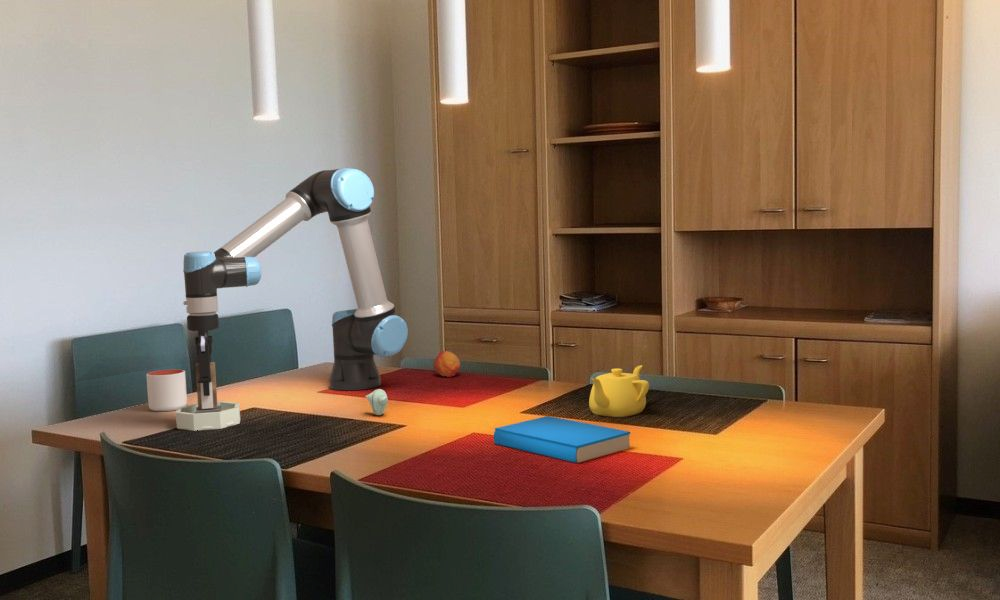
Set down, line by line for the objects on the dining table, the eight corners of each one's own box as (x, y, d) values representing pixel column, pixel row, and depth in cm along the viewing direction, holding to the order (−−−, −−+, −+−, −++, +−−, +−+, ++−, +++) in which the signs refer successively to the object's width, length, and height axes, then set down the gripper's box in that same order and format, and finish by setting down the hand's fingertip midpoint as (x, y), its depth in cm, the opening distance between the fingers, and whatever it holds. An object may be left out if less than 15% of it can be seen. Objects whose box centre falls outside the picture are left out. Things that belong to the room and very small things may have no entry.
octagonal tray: (241, 415, 257) (240, 399, 257) (239, 427, 242) (238, 411, 242) (179, 419, 254) (178, 404, 253) (174, 432, 239) (173, 416, 238)
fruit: (450, 373, 311) (449, 348, 310) (466, 376, 305) (465, 350, 304) (430, 376, 306) (429, 351, 305) (445, 379, 300) (444, 353, 299)
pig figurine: (363, 414, 252) (362, 388, 252) (376, 412, 255) (375, 386, 254) (382, 418, 247) (381, 392, 246) (395, 416, 249) (394, 389, 249)
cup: (193, 404, 274) (190, 369, 273) (178, 412, 264) (175, 375, 263) (158, 405, 275) (156, 369, 274) (142, 412, 265) (139, 375, 264)
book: (547, 415, 227) (631, 429, 209) (547, 434, 228) (631, 449, 209) (492, 428, 216) (575, 444, 197) (492, 448, 216) (576, 465, 198)
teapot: (624, 424, 231) (623, 379, 230) (570, 417, 242) (569, 373, 241) (673, 408, 248) (672, 365, 247) (621, 401, 258) (620, 360, 257)
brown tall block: (217, 413, 249) (214, 362, 248) (217, 414, 247) (214, 363, 246) (199, 414, 248) (196, 363, 247) (198, 416, 246) (195, 364, 245)
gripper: (188, 311, 252) (194, 402, 254) (184, 317, 237) (190, 414, 239) (219, 310, 254) (224, 400, 256) (216, 315, 239) (222, 411, 241)
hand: (208, 406), depth 248 cm, fingers closed on brown tall block, 2 cm apart
